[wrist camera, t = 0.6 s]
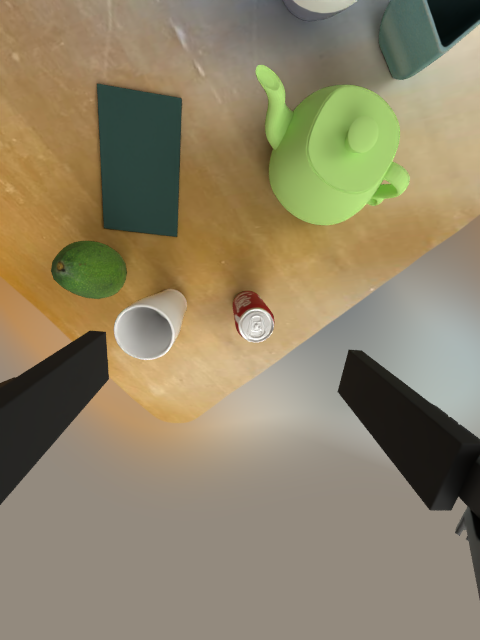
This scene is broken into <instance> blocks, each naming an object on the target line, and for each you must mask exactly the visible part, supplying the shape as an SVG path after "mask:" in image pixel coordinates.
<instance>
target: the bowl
mask: <svg viewBox="0 0 480 640" xmlns="http://www.w3.org/2000/svg"><path fill="white" fill-rule="evenodd" d="M356 1H358V0H283V2H284V4H285V5H286V7H287V8H288V10H289V11H290V12H291V13H292V14H293V15H295V16H296V17H297V18H299V19H302V20H305V21H316V20H322V19H326V18H329V17H332V16H334V15H335V14H337V13H340V12H341V11H343V10H345V9H346V8H348V7H349V6H351V5H352V4H353V3H355V2H356Z"/></svg>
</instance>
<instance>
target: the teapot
mask: <svg viewBox="0 0 480 640" xmlns="http://www.w3.org/2000/svg"><path fill="white" fill-rule="evenodd" d="M256 76H257V78H258V81H259V82H260V84H261V85H262V87H263V88H264V90H265V92H266V94H267V97H268V109H267V114H266V120H265V133H266V137H267V139H268V141H269V143H270V145H271V146H272V147H273V150H272V154H271V158H270V163H269V180H270V185H271V187H272V190H273V192H274V194H275V196H276V197H277V199H278V200H279V202H280V203H281V204H282V205H283V206H284V207H285V208H286V210H288V211H289V212H290V213H291V214H292V215H294V216H296V217H297V218H299V219H301V220H303V221H305V222H308V223H311V224H316V225H333V224H337V223H340V222H343V221H345V220H347V219H349V218H350V217H352V216H354V215H355V214H356V213H357V212H359V211H360V210H361V209H362V208H363V207H364V206H365V205H366V204H369V205H373V206H376V205H378V204H380V203H381V202H382V201H383V200H384V199H385V198H394V197H397V196H399V195H401V194H402V193H403V192H404V191H405V189H406V188H407V186H408V184H409V180H410V178H409V174H408V172H407V171H406V170H405V169H404V168H403V167H402V166H400V165H398V164H397V163H394V162H392V161H393V158H394V156H395V153H396V150H397V148H398V144H399V139H400V128H399V123H398V120H397V118H396V115H395V114H394V112H393V110H392V109H391V108H390V106H389V105H388V104H387V103H386V102H385V101H384V100H383V99H382V98H381V97H380V96H379V95H377V94H376V93H374V92H372V91H370V90H368V89H366V88H363V87H359V86H354V85H335V86H329V87H325V88H322V89H320V90H318V91H316V92H314V93H312V94H311V95H309V96H308V97H307V98H305V99H304V100H303V101H302V102H301V103H300V104H299V105H298V106H297V107H296V108H295V109H294V111H293V112H292V111H291V110H290V109H289V108H288V107H287V106H286V104H285V90H284V87H283V84H282V82H281V80H280V79H279V77H278V76H277V75H276V74H275V73H274V72H273V71H272V70H271V69H269V68H268V67H266V66H264V65H259V66H257V68H256ZM383 179H384V180H386V181H388V182H390V183H391V184H383V185H380V184H381V183H382V181H383Z"/></svg>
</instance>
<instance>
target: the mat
mask: <svg viewBox="0 0 480 640" xmlns="http://www.w3.org/2000/svg"><path fill="white" fill-rule="evenodd" d="M97 94H98V115H99V136H100V157H101V177H102V198H103V219H104V228H107V229H115V230H123V231H132V232H140V233H149V234H157V235H166V236H174V237H177V227H178V198H179V168H180V139H181V109H182V99H181V98H177V97H172V96H166V95H160V94H154V93H149V92H143V91H137V90H131V89H126V88H120V87H114V86H109V85H103V84H97Z"/></svg>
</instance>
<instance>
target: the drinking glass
mask: <svg viewBox="0 0 480 640" xmlns="http://www.w3.org/2000/svg"><path fill="white" fill-rule="evenodd" d="M186 309H187V301H186V299H185V297H184V295H183V294H182V293H181V292H179V291H177V290H174V289H166V290H163V291H161V292H159V293H156V294H154V295H150V296H147V297H144V298H142V299H140V300H138V301H136V302H134V303H133V304H131V305H130V306H128V307H127V308H126V309H124V310H123V311H122V312H121V313H120V314H119V315H118V317H117V319H116V321H115V324H114V335H115V339H116V341H117V343H118V345H119V346H120V347H121V349H122V350H123V351H124V352H126V353H127V354H129V355H130V356H132V357H135V358H138V359H142V360H151V359H156V358H159V357H161V356H163V355H164V354H165V353H167V352H168V351H169V349H170V348H171V346H172V345H173V343H174V342H175V340H176V338H177V337H178V334H179V332H180V329H181V325H182V322H183V318H184V314H185V312H186Z"/></svg>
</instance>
